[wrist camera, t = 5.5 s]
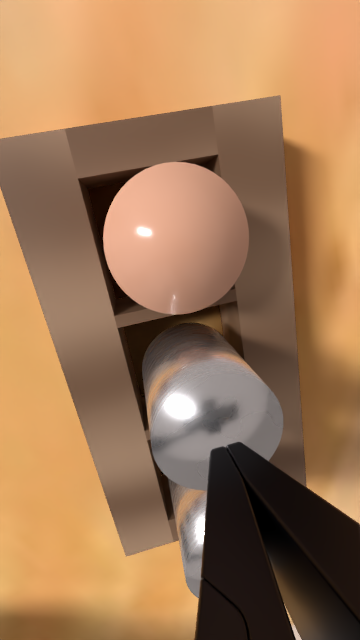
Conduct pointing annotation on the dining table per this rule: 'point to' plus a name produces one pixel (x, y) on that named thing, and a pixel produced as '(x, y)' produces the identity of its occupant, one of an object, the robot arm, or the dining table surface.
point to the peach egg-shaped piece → (176, 238)
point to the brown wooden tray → (113, 314)
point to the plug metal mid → (204, 402)
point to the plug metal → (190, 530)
